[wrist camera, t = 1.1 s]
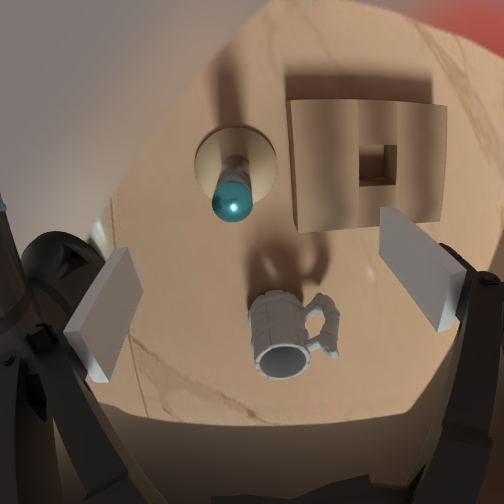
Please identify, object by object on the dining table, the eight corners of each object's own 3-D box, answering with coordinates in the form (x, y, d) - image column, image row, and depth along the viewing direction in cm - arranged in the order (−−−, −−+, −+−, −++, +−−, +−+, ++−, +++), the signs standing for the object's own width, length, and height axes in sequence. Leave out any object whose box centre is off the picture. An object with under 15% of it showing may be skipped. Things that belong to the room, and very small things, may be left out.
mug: (236, 303, 43) (235, 370, 32) (316, 263, 40) (340, 324, 29) (264, 338, 46) (269, 404, 35) (338, 304, 43) (362, 366, 33)
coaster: (201, 209, 36) (200, 211, 36) (189, 132, 32) (189, 133, 32) (279, 201, 36) (279, 203, 36) (273, 123, 32) (274, 123, 32)
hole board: (293, 220, 37) (298, 233, 34) (285, 100, 31) (290, 100, 28) (426, 211, 37) (439, 221, 34) (431, 103, 31) (447, 106, 27)
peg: (223, 182, 35) (214, 224, 24) (220, 156, 33) (209, 185, 23) (250, 179, 35) (254, 220, 24) (248, 153, 33) (250, 181, 23)
